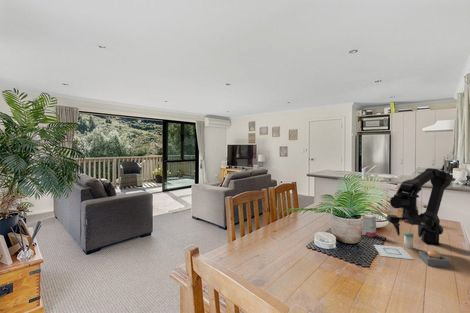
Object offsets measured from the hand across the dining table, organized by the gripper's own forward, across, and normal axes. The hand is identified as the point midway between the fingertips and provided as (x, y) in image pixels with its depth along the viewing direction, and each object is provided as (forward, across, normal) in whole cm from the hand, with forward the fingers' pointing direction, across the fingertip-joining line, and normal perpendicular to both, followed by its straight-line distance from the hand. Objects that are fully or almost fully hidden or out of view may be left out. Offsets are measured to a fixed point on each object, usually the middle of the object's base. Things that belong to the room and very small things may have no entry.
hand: (408, 236), depth 120 cm
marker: (+6, 0, 0) cm, 6 cm away
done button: (+4, +4, -15) cm, 16 cm away
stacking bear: (+6, +19, +49) cm, 53 cm away
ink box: (+6, -16, +14) cm, 22 cm away
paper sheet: (+6, -10, -8) cm, 14 cm away
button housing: (+6, +4, -15) cm, 17 cm away
